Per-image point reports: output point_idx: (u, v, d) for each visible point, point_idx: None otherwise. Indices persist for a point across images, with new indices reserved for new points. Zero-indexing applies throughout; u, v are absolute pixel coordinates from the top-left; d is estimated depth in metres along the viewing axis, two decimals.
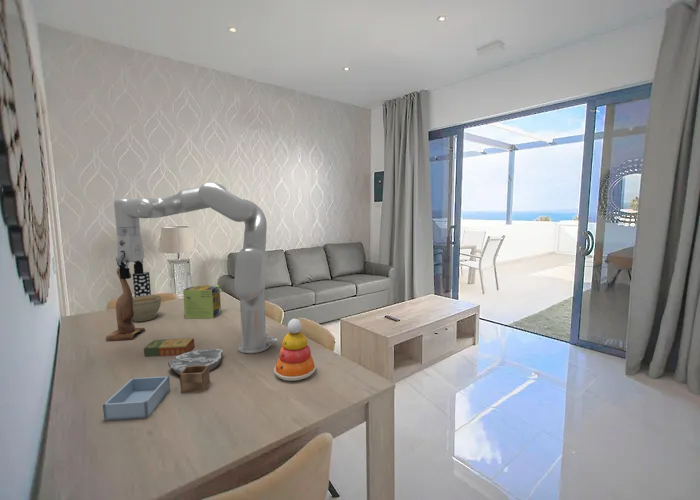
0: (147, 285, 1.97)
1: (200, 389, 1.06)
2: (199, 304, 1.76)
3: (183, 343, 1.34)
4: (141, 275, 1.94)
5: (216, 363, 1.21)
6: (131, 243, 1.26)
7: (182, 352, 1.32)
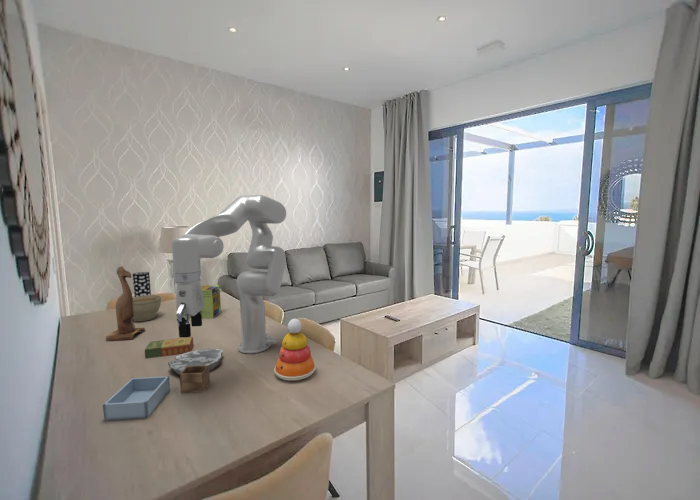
0: (147, 285, 1.97)
1: (200, 389, 1.06)
2: None
3: (185, 341, 1.36)
4: (141, 275, 1.94)
5: (216, 363, 1.21)
6: (193, 292, 1.01)
7: (186, 350, 1.34)
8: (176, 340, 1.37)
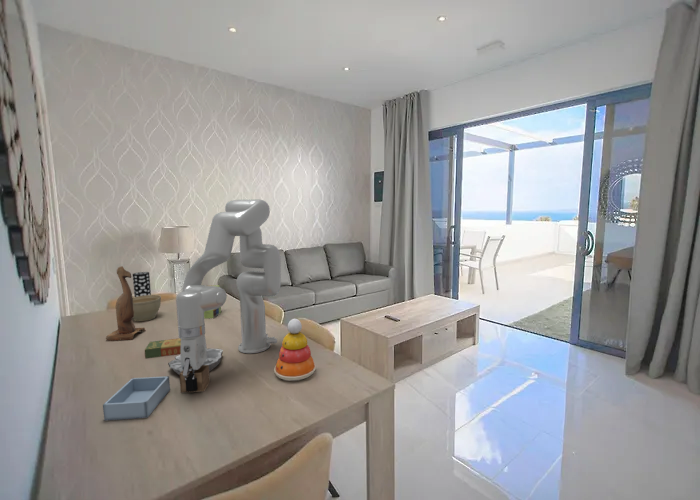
0: (147, 285, 1.97)
1: (200, 389, 1.05)
2: None
3: None
4: (141, 275, 1.94)
5: (216, 363, 1.21)
6: (197, 346, 1.03)
7: None
8: (176, 340, 1.37)
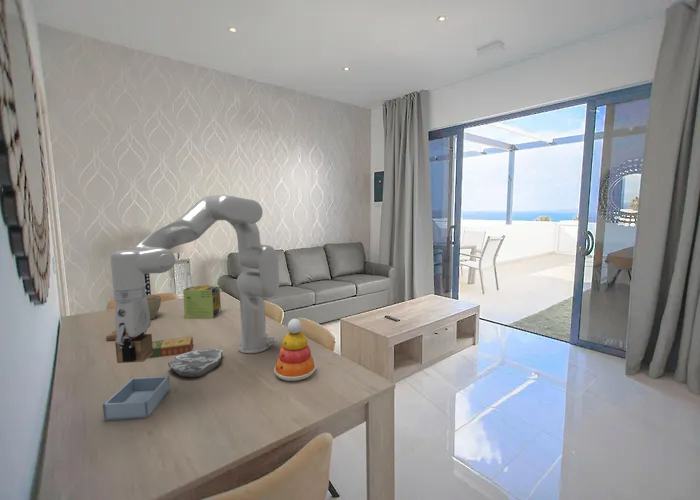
0: (147, 285, 1.97)
1: (139, 359, 0.95)
2: (199, 304, 1.76)
3: (185, 341, 1.36)
4: None
5: (216, 363, 1.21)
6: (134, 311, 0.92)
7: (186, 350, 1.34)
8: (176, 340, 1.37)
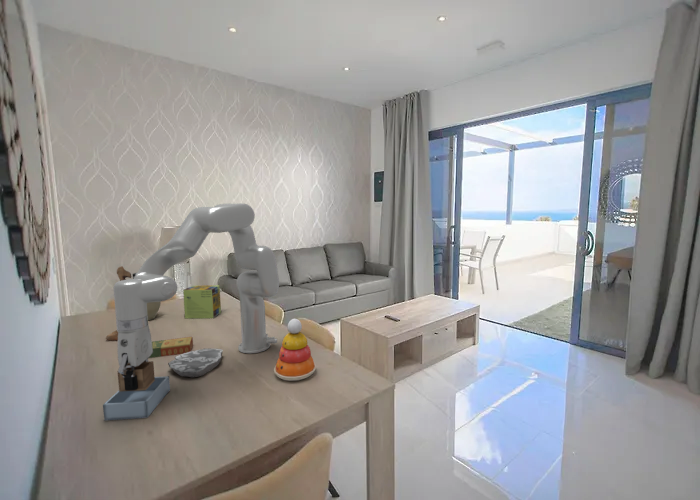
0: None
1: (141, 387, 0.96)
2: (199, 304, 1.76)
3: (185, 341, 1.36)
4: None
5: (216, 363, 1.21)
6: (137, 341, 0.93)
7: (186, 350, 1.34)
8: (176, 340, 1.37)
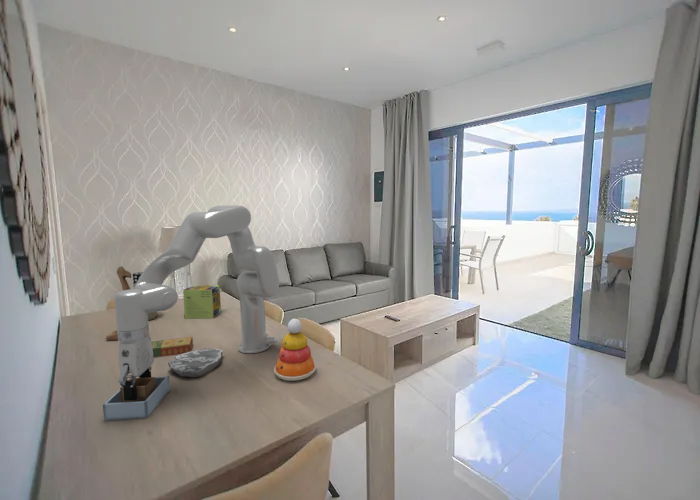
0: None
1: None
2: (199, 304, 1.76)
3: (185, 341, 1.36)
4: None
5: (216, 363, 1.21)
6: (138, 351, 0.94)
7: (186, 350, 1.34)
8: (176, 340, 1.37)
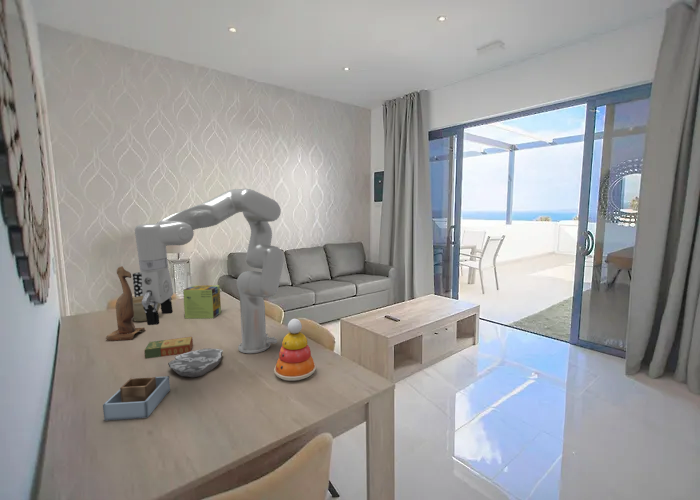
0: None
1: None
2: (199, 304, 1.76)
3: (185, 341, 1.36)
4: (141, 275, 1.94)
5: (216, 363, 1.21)
6: (159, 279, 1.00)
7: (186, 350, 1.34)
8: (176, 340, 1.37)
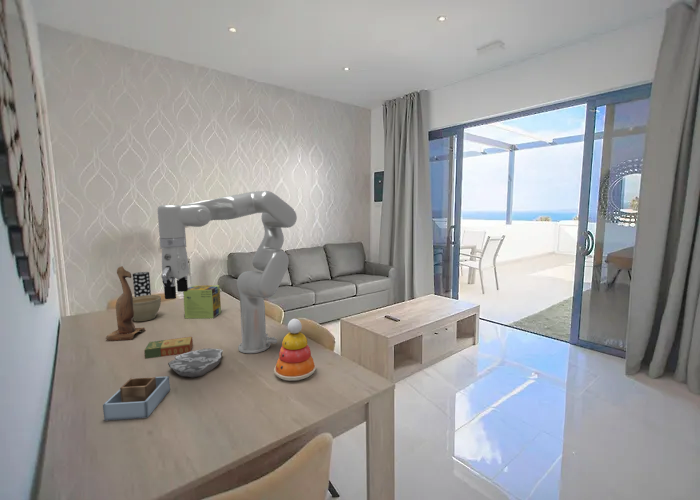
0: (147, 285, 1.97)
1: None
2: (199, 304, 1.76)
3: (185, 341, 1.36)
4: (141, 275, 1.94)
5: (216, 363, 1.21)
6: (178, 256, 1.07)
7: (186, 350, 1.34)
8: (176, 340, 1.37)
